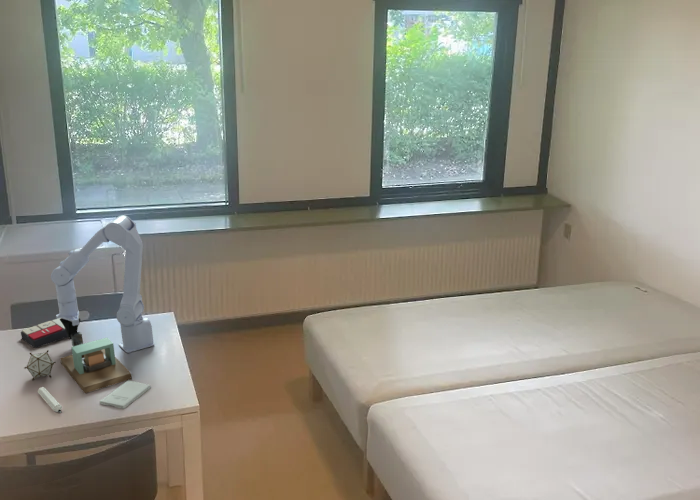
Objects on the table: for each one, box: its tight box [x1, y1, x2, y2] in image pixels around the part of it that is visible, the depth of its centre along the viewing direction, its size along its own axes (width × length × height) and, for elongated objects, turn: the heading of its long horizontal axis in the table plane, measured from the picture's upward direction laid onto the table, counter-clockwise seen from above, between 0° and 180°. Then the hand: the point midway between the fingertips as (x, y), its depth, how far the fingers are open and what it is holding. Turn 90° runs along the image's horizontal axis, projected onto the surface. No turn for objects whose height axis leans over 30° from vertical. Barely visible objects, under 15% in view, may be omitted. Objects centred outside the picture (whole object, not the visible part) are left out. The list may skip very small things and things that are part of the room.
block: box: [84, 350, 104, 366], centre depth 208 cm, size 4×4×4 cm
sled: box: [70, 331, 111, 372], centre depth 214 cm, size 7×22×4 cm, turn 38°
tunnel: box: [71, 337, 116, 374], centre depth 208 cm, size 11×6×7 cm, turn 128°
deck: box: [60, 349, 133, 394], centre depth 209 cm, size 14×24×2 cm, turn 38°
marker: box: [37, 386, 63, 414], centre depth 191 cm, size 3×2×16 cm
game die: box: [23, 349, 57, 381], centre depth 205 cm, size 9×8×10 cm
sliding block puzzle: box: [20, 318, 69, 349], centre depth 234 cm, size 11×4×15 cm
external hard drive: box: [99, 380, 151, 409], centre depth 195 cm, size 2×8×12 cm
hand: (72, 338), depth 226 cm, fingers closed
